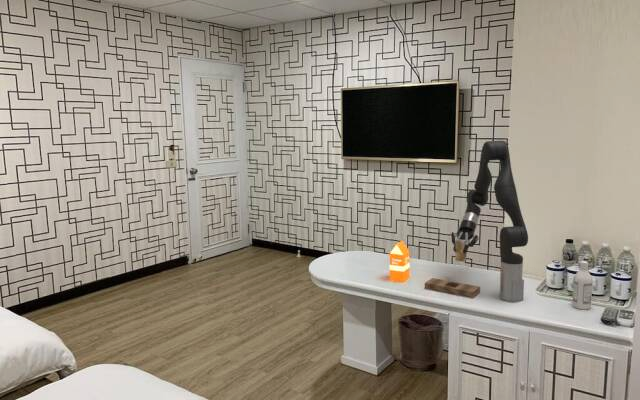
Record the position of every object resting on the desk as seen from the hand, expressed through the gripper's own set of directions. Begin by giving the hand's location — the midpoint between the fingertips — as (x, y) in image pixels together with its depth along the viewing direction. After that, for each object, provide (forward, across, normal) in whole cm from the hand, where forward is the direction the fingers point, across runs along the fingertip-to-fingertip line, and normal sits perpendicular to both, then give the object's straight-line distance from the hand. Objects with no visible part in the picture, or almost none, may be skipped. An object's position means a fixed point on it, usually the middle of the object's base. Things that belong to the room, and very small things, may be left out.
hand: (459, 251), depth 230 cm
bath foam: (+11, +53, +14) cm, 56 cm away
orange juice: (+17, -29, +7) cm, 35 cm away
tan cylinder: (+2, 0, +5) cm, 5 cm away
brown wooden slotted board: (+18, 0, +6) cm, 19 cm away
